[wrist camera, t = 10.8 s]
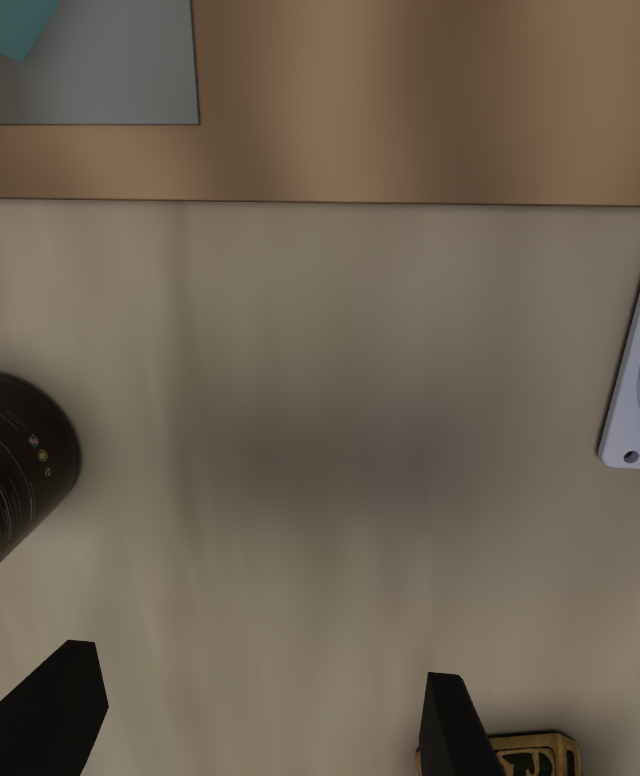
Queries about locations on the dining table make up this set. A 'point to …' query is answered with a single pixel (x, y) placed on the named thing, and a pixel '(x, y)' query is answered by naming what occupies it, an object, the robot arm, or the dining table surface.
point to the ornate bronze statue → (534, 755)
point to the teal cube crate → (22, 25)
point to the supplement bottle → (30, 462)
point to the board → (328, 102)
